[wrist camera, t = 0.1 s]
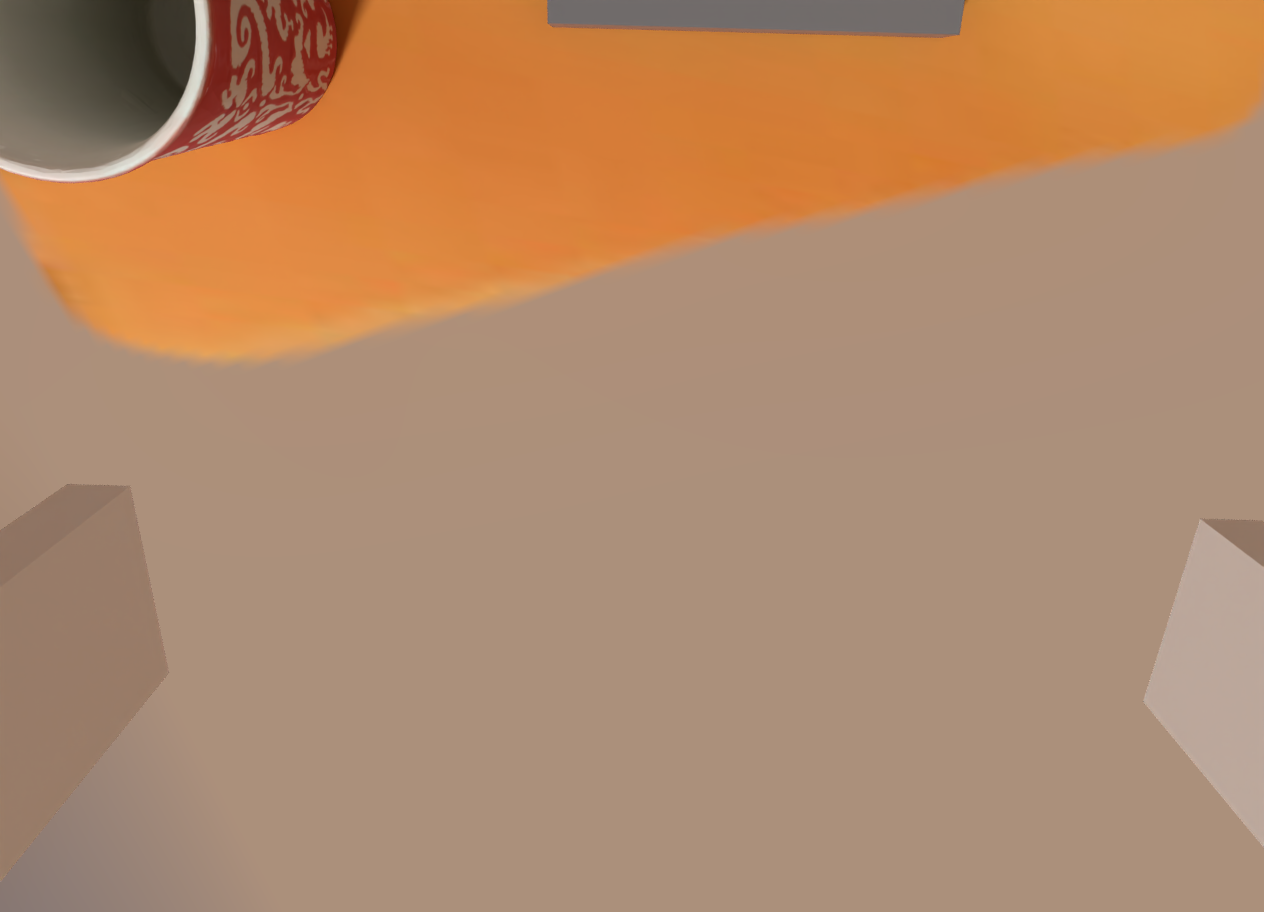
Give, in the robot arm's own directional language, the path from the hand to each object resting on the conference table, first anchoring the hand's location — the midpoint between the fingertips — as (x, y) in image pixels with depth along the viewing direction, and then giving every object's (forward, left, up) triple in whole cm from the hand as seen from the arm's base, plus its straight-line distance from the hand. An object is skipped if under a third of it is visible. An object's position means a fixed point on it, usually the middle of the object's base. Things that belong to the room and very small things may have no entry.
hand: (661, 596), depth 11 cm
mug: (-7, -17, -28) cm, 34 cm away
